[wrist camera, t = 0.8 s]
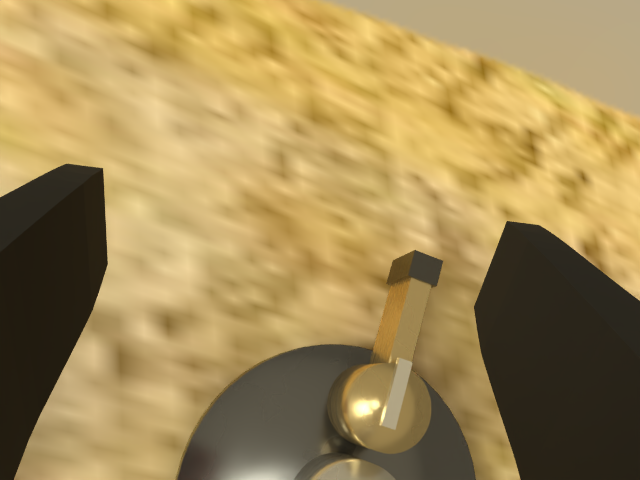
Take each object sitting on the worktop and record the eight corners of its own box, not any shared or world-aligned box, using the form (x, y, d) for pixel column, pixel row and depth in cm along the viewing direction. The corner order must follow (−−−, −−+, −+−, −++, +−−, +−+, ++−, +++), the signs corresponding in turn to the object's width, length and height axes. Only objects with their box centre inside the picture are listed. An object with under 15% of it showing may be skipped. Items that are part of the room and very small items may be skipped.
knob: (390, 455, 28) (422, 465, 25) (317, 432, 27) (340, 439, 24) (435, 279, 30) (470, 267, 27) (369, 254, 30) (396, 238, 26)
